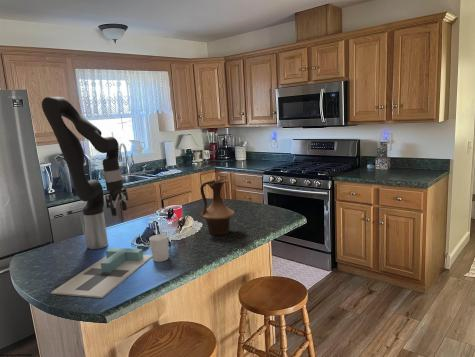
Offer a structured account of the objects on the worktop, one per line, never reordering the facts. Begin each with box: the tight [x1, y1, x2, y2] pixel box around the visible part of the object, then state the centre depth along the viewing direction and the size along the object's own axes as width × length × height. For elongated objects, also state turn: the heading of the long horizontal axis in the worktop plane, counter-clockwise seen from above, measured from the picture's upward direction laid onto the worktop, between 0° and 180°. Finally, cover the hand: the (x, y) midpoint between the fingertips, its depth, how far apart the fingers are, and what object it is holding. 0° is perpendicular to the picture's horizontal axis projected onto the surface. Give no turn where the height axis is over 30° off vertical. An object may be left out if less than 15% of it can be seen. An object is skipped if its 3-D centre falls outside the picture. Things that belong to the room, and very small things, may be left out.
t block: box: [101, 247, 144, 273], centre depth 158 cm, size 16×16×4 cm
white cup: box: [148, 233, 169, 263], centre depth 161 cm, size 8×8×10 cm
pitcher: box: [200, 179, 235, 236], centre depth 189 cm, size 18×17×28 cm
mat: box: [50, 254, 153, 299], centre depth 151 cm, size 22×37×1 cm, turn 164°
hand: (119, 212), depth 175 cm, fingers open, 8 cm apart
